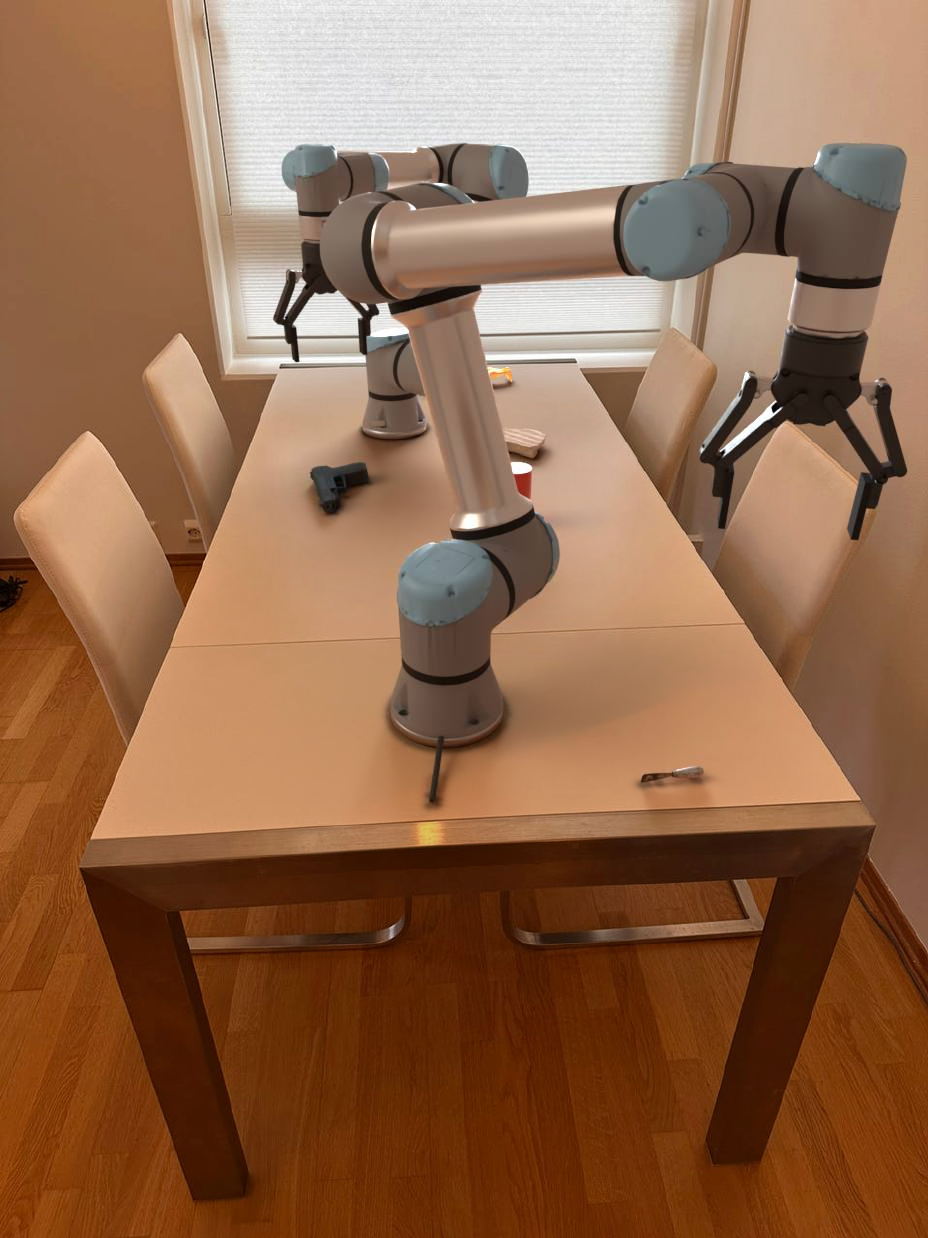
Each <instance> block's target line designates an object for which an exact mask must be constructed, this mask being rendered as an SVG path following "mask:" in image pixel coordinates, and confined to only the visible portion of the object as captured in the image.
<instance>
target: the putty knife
mask: <svg viewBox="0 0 928 1238" xmlns="http://www.w3.org/2000/svg"><path fill="white" fill-rule="evenodd" d="M704 772H705V771H704V768H702V767H701V766H697V765H695V766H688V767H683V768H679V769H675V770H673V771H671V772H653V773H652V772H651V773H650V772H649V773H644V774H642V776H641V779H640V783H642V784H645V783H648V782H653V781H659V780H665V779H668V778H673V779H674V778H675V779H693V778H694V779H695V778H700V777H702V776H703V775H704Z"/></svg>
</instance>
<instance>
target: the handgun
mask: <svg viewBox="0 0 928 1238" xmlns="http://www.w3.org/2000/svg"><path fill="white" fill-rule="evenodd" d="M309 475H310V476H309V478H310V479H311V480H312V481H313V484H314V488H315V490H316V493H317V496H318V498H319V502H320V503H319V504H317V505H318V507H320V508H322V511H324V513H326V514H330V513H336V510H337V508H338V509H340V508H341V501H340V496H339V495H341V494H346V493H347V492H348V490H347V489H348V488H347V487H351V486H355V485H359V484H363V483H369V470H368V465H367V463H366V462H363V461H358V462H352V463H348V464H344V465H340V466H337V467H331V466H329V465H318V466H314V467H313V468H311V470H310V471H309Z"/></svg>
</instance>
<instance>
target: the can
mask: <svg viewBox="0 0 928 1238" xmlns="http://www.w3.org/2000/svg"><path fill="white" fill-rule="evenodd" d="M511 465H512V469H513V473H514V477H515V481H516V486H517V490H518V492H519V493H520V494H521V495H523V496H524V497H526V498H528V499H530V500H531V501H532V481H533V480H532V479H533V478H532V477H533V467H532V466H531V465H530V464H528V463H525V462H521V461H520V462H519V461H518V462H517V461H516V462H511Z"/></svg>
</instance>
